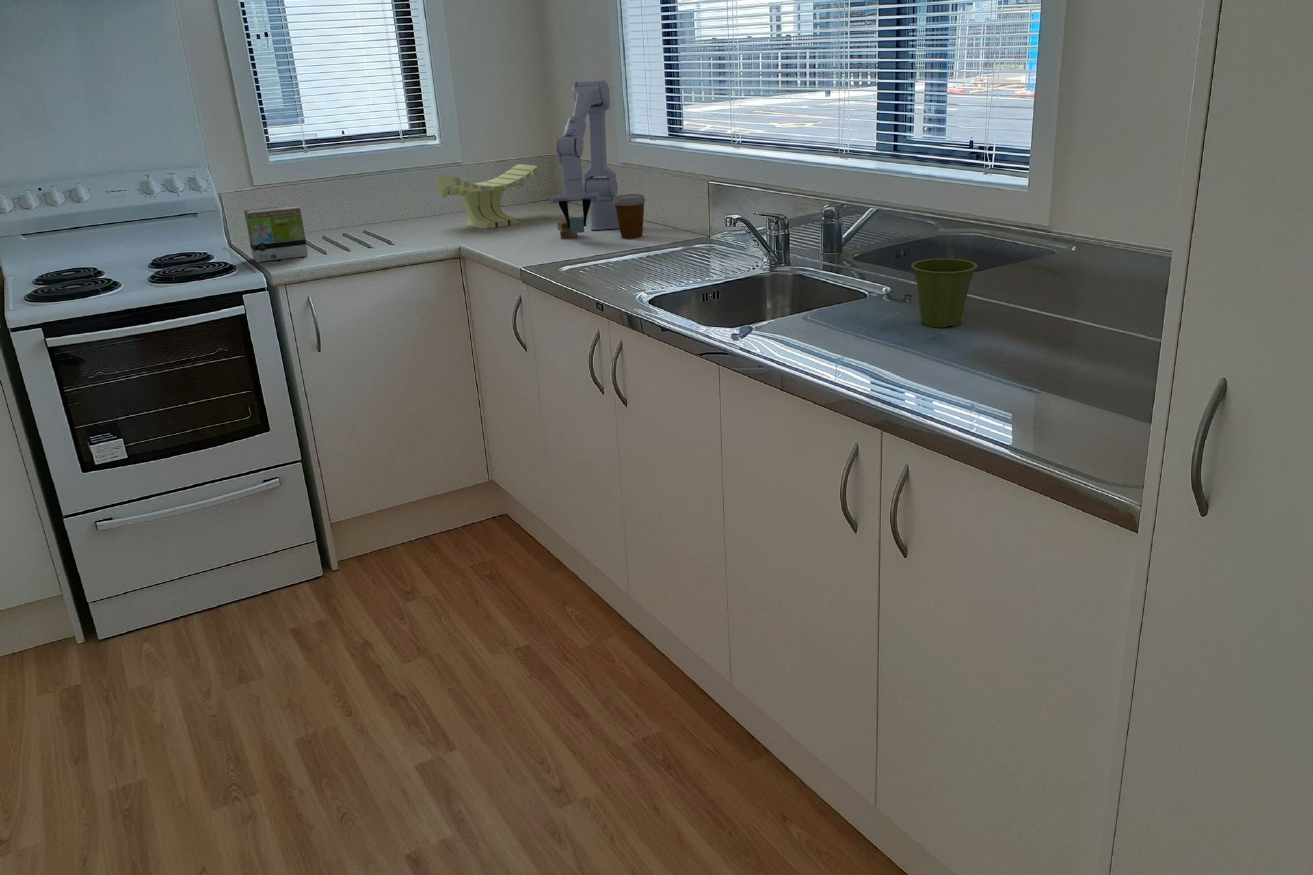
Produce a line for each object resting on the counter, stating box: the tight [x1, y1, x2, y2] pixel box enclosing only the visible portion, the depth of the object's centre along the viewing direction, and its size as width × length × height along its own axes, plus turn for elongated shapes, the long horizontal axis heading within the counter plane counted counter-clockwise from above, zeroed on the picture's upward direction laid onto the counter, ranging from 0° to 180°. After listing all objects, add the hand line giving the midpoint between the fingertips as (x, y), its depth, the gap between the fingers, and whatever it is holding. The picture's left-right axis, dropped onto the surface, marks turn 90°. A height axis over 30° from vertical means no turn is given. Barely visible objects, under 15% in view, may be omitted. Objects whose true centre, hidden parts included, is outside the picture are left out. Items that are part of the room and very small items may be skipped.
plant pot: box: [910, 258, 978, 329], centre depth 190 cm, size 12×12×11 cm
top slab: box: [557, 220, 571, 232], centre depth 308 cm, size 5×5×2 cm
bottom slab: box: [559, 231, 578, 240], centre depth 308 cm, size 5×5×2 cm
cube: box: [569, 216, 585, 234], centre depth 299 cm, size 4×4×4 cm
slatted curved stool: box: [435, 163, 539, 230], centre depth 340 cm, size 30×16×18 cm, turn 125°
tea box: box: [244, 204, 309, 263], centre depth 304 cm, size 15×10×15 cm
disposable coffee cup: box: [613, 193, 646, 240], centre depth 300 cm, size 10×10×12 cm
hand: (577, 226), depth 299 cm, fingers closed on cube, 4 cm apart
